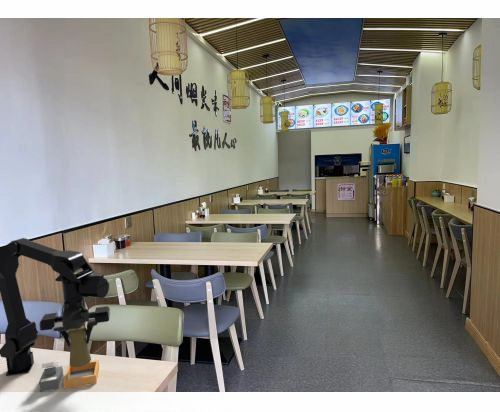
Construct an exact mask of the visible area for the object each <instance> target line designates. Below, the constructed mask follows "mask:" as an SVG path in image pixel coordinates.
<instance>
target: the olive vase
mask: <svg viewBox="0 0 500 412" xmlns="http://www.w3.org/2000/svg"><path fill="white" fill-rule="evenodd" d="M68 336H69V339H70V340H71V345H70V347H69V351H70V352H69V365H70V366H71V367H81V366H84V365H86V364H88V363H89V362H91V361H92V356H91V354H90V352H91V351H90V349H89V345H88V344H89V343H88V344H87V326H84V325H82V327H81V328H79V329H69V332H68Z"/></svg>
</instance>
